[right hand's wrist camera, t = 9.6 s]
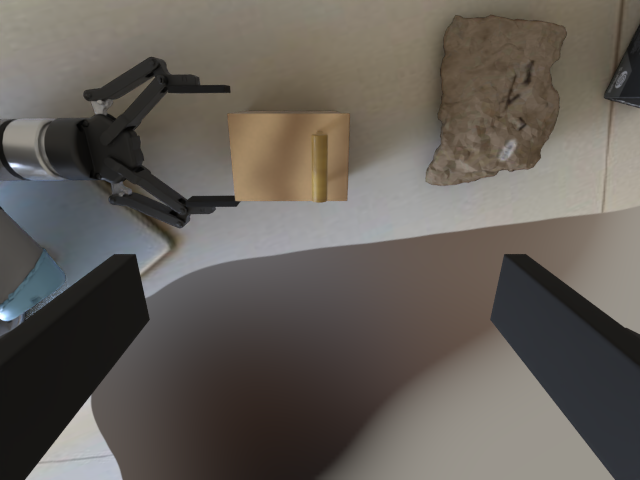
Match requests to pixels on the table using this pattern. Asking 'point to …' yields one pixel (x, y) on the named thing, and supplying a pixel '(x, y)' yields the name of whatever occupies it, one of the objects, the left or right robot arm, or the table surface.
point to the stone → (495, 97)
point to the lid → (289, 156)
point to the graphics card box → (627, 76)
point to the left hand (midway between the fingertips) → (233, 148)
